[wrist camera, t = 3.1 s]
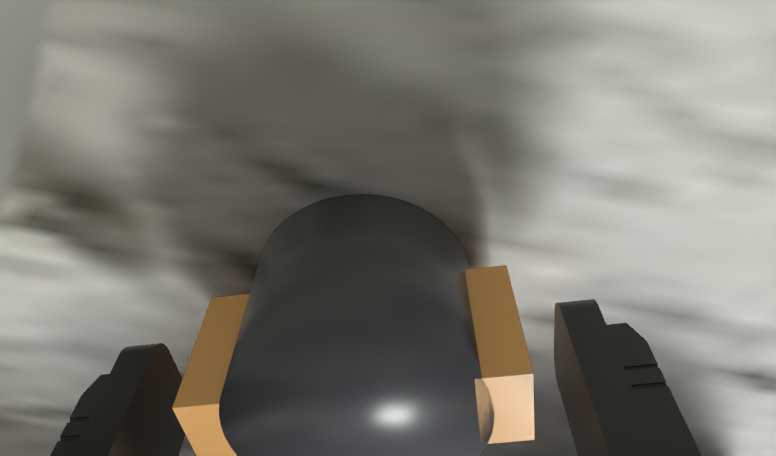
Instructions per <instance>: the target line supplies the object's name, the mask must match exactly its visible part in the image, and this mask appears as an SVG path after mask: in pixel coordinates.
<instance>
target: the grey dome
mask: <svg viewBox="0 0 776 456" xmlns="http://www.w3.org/2000/svg"><path fill="white" fill-rule="evenodd" d="M172 409H173V411H174V413H175V415H176V417H177V419H178V421H179V423H180V425H181V427H182V428H183V430H184V432H185V434H186V436H187V438H188V440H189V442H190V444H191V446H192V448H193V450H194V452H195V454H196V456H480V455H481V454H482V452H483V451H484V449H485V448H486V446H487V444H492V443H504V442H515V441H527V440H535V437H534V379H533V370H532V366H531V362H530V358H529V354H528V350H527V346H526V342H525V338H524V334H523V330H522V326H521V322H520V318H519V314H518V310H517V306H516V302H515V298H514V294H513V290H512V286H511V282H510V278H509V274H508V270H507V266H506V265H504V266H495V267H486V268H476V269H470V265H469V261H468V258H467V255H466V252H465V250H464V249H463V247H462V245H461V243H460V241H459V240H458V239H457V237H456V236H455V235H454V233H453V232H452V231H451V230H450V229H449V228H448V227H447V226H446V225H445V224H444V223H443V222H442V221H440V220H439V219H438V218H436V217H435V216H434V215H432V214H431V213H429V212H427V211H425V210H424V209H422V208H420V207H418V206H415V205H413V204H411V203H408V202H406V201H402V200H399V199H395V198H391V197H385V196H379V195H365V194H357V195H344V196H338V197H333V198H329V199H325V200H322V201H319V202H316V203H313V204H311V205H309V206H307V207H304V208H302V209H301V210H299V211H298V212H296V213H294V214H293V215H291V216H290V217H289V218H287V219H286V220H285V221H284V222H282V223H281V224H280V225H279V226H278V228H277V229H276V230H275V231H274V232H273V233H272V235H271V236H270V238H269V239H268V241H267V242H266V244H265V246H264V248H263V250H262V253H261V256H260V259H259V263H258V266H257V270H256V273H255V277H254V280H253V284H252V287H251V291H250V294H241V295H232V296H223V297H214V298H211V301H210V304H209V307H208V309H207V312H206V315H205V318H204V321H203V323H202V326H201V329H200V332H199V334H198V337H197V340H196V343H195V346H194V348H193V351H192V354H191V357H190V360H189V362H188V365H187V368H186V371H185V374H184V376H183V379H182V382H181V385H180V387H179V390H178V393H177V396H176V399H175V401H174V404H173V407H172Z"/></svg>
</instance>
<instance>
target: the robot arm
mask: <svg viewBox="0 0 776 456" xmlns="http://www.w3.org/2000/svg"><path fill="white" fill-rule="evenodd" d="M554 363H555V371H556V378H557V383H558V387H559V391H560V394H561V397H562V401H563V404H564V408H565V411H566V415H567V418H568V422H569V425H570V429H571V432H572V436H573V439H574V442H575V446H576V449H577V453H578V456H701V454H700V452H699V450H698V448H697V446H696V444H695V442H694V440H693V437H692V435H691V433H690V431H689V429H688V427H687V425H686V423H685V421H684V419H683V416H682V414H681V412H680V410H679V408H678V406H677V404H676V402H675V400H674V398H673V395H672V393H671V391H670V389H669V387H668V386H666V381H665V379H664V377H663V374H662V372H661V370H660V368H658V366H657V362H656V360H655V358H654V356H653V353H652V351H651V349H650V347H649V345H648V343H647V341H646V340H645V339H644V338H643V337H641V336H640V335H639V334H638V333H637V332H636V331H635V330H634V329H633V328H631V327H630V326H629V325H628V324H627V323H621V324H611V325H606V323H605V321H604V318H603V316H602V314H601V311H600V309H599V306H598V304H597V302H596V301H595V300H594V299H591V300H581V301H572V302H562V303H556V305H555V326H554ZM181 382H182V377H181V375H180V373H179V371H178V369H177V367H176V364H175V362H174V360H173V358H172V356H171V354H170V352H169V350H168V348H167V347H166V346H165V345H164V344H162V343H161V344H150V345H141V346H131V347H126V348H124V349H123V350H122V351H121V353H120V354H119V356H118V358H117V360H116V362H115V365H114V367H113V369H112V371H111V373H110V374H105V375H101V376H100V377H99V378H98V379H97V380H96V381H95V382H94V383H93V384H92V385H91V386H90V387H89V388H88V389H87V390H86V391H85V392H84V394H83V395H82V396H81V398H80V399H79V401H78V403H77V405H76V407H75V409H74V411H73V413H72V415H71V417H70V423H67V425H66V427H65V429H64V430H63V432H62V434H61V436H60V437H61V440H60V441H58V442H57V444H56V446H55V448H54V450H53V452H52V454H51V456H179V453H180V449H181V446H182V443H183V440H184V437H185V432H184V430H183V428H182V427H181V425H180V423H179V421H178V419H177V417H176V415H175V413H174V411H173V409H172V407H173V404H174V401H175V399H176V396H177V393H178V390H179V387H180V385H181Z"/></svg>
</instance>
